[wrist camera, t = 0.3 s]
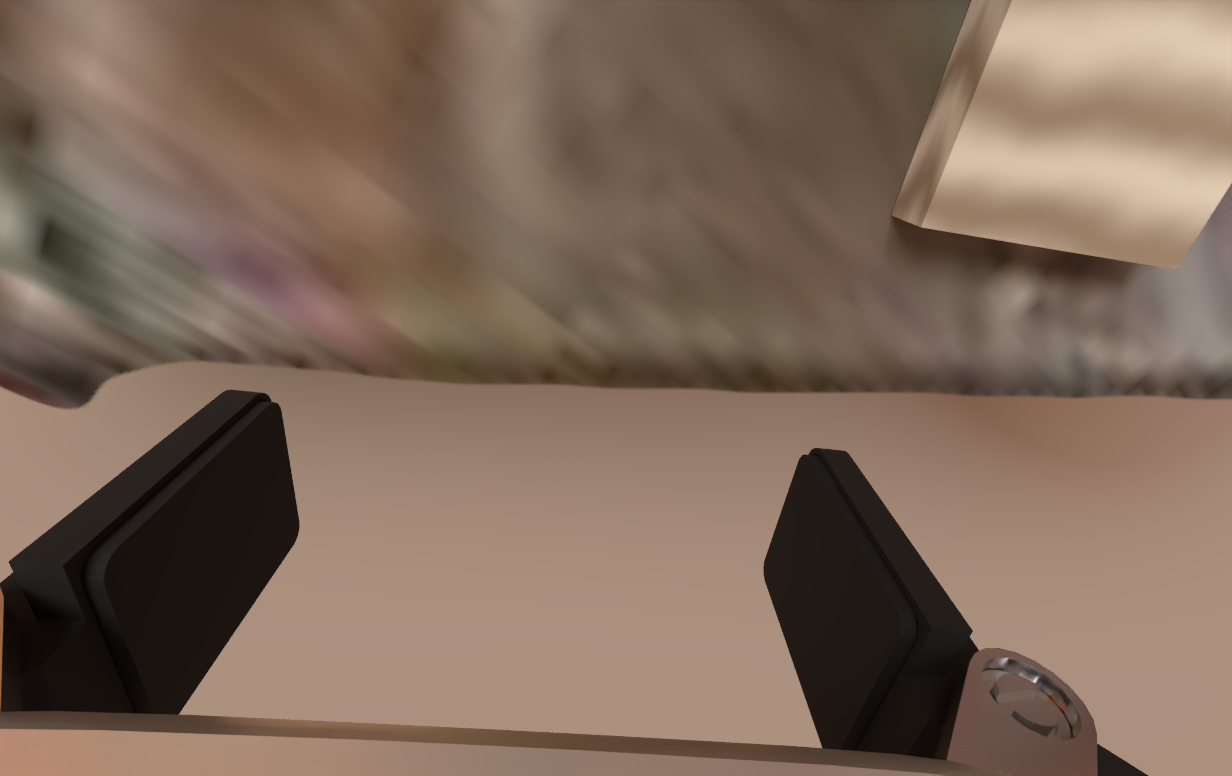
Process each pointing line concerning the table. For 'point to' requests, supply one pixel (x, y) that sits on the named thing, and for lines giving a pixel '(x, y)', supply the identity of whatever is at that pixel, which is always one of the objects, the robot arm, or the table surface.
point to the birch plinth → (1080, 127)
